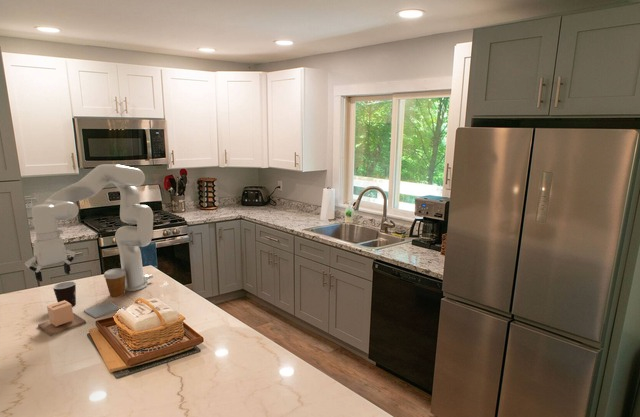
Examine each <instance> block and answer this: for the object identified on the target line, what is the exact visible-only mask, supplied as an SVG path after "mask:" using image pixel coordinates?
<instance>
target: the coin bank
mask: <svg viewBox="0 0 640 417" xmlns="http://www.w3.org/2000/svg"><path fill="white" fill-rule="evenodd" d="M46 308H47V314H48V321H50V322H51V323H52V324H53V325H55V326H59V325H62V324H64V323H67V322H70V321H73V320H74V317H73V313H74V312H73V307H72V304H70V303H69V302H67V301H65V300H64V301H61V302H54V303H52V304H49V305H46Z"/></svg>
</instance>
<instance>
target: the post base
mask: <svg viewBox="0 0 640 417" xmlns="http://www.w3.org/2000/svg"><path fill="white" fill-rule="evenodd" d="M73 317H74V320H73V321H70V322H67V323H64V324H62V325H59V326H55V325H53V324H52V323H51V322H50V321H49V320H47V321H44V322H41V323H39V324H37V326H38V328H39V329H41V330H42V331H43V332H44V333H46V334H47V335H48V336H50V337H53V336H56V335H59V334H62V333H63V332H67V331H70V330H72V329H74V328H77V327H80V326H83V325H84V324H85V325H86V324H87V320H85V319H83V318H82V317H81V316H79V315H77V314H76V313H74V312H73Z"/></svg>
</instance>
